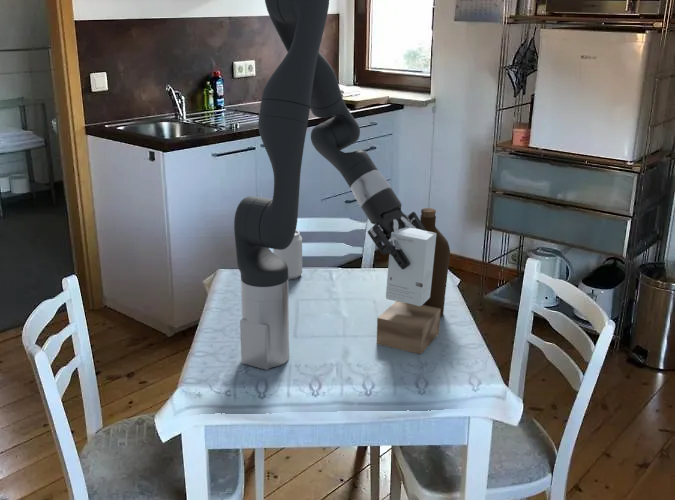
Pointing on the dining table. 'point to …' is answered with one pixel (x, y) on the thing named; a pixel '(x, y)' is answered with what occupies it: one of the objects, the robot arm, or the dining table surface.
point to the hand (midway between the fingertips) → (417, 262)
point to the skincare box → (412, 267)
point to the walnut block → (408, 326)
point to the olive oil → (437, 261)
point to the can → (292, 256)
